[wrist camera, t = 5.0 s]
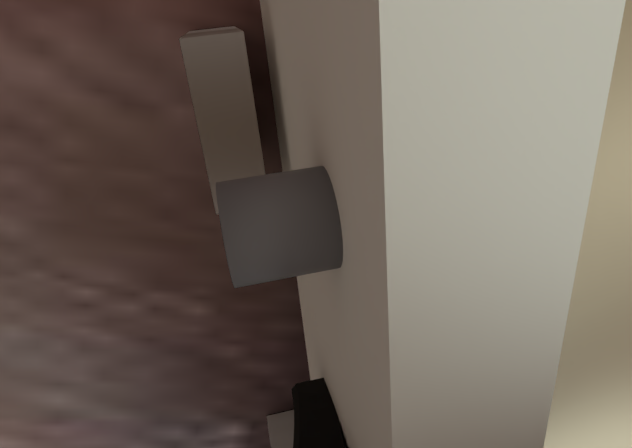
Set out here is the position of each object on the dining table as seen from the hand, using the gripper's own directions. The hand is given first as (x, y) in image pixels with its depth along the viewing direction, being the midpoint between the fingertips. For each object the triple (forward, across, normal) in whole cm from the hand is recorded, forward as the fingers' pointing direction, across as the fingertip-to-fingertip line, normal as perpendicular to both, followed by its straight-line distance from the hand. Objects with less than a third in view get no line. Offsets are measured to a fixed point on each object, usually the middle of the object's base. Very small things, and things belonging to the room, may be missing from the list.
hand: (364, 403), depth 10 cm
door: (+3, 0, 0) cm, 3 cm away
